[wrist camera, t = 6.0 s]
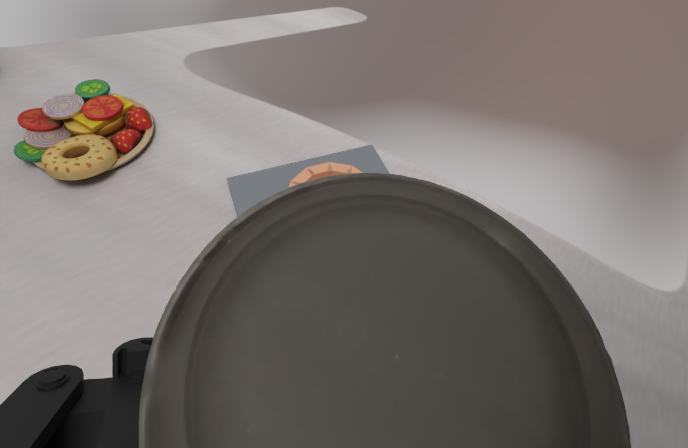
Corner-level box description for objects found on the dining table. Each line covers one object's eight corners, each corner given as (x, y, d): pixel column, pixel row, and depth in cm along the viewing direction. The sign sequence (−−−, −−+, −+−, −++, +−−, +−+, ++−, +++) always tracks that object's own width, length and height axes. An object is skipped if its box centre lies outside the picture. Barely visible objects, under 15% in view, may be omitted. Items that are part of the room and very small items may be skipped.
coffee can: (428, 322, 22) (565, 194, 10) (432, 527, 16) (752, 798, 4) (276, 300, 22) (230, 147, 10) (229, 498, 16) (-4, 690, 4)
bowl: (353, 179, 38) (358, 154, 35) (388, 244, 34) (397, 223, 30) (277, 198, 35) (274, 174, 32) (304, 271, 31) (304, 253, 28)
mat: (371, 147, 42) (371, 144, 41) (444, 269, 33) (446, 267, 33) (227, 181, 37) (226, 178, 36) (272, 334, 28) (272, 333, 28)
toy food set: (82, 204, 34) (63, 184, 31) (0, 149, 36) (-25, 126, 34) (180, 131, 40) (171, 110, 38) (104, 89, 43) (91, 66, 40)
